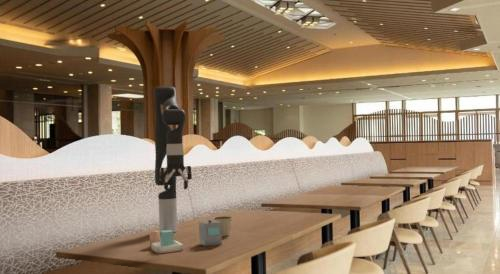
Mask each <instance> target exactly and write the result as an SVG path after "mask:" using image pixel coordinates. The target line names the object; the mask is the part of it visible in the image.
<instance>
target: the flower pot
mask: <svg viewBox="0 0 500 274" xmlns="http://www.w3.org/2000/svg"><path fill="white" fill-rule="evenodd" d="M212 219H213V220H217V221H219V222H221V232H222V237H226V236H227V237H228V236H230V234H231V225H232V224H231V223H232V219H233V216H228V215H227V216H225V215H224V216H222V215H221V216H215V217H213V218H212Z"/></svg>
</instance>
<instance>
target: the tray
mask: <svg viewBox="0 0 500 274" xmlns="http://www.w3.org/2000/svg"><path fill="white" fill-rule="evenodd" d="M151 250H152V251H154V252H155V253H156V254H165V253H173V252H181V251H184V243H181V242H179V241H177V240H174V245H172V246H164V247H161V241H160V242H158V243H151Z"/></svg>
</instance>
